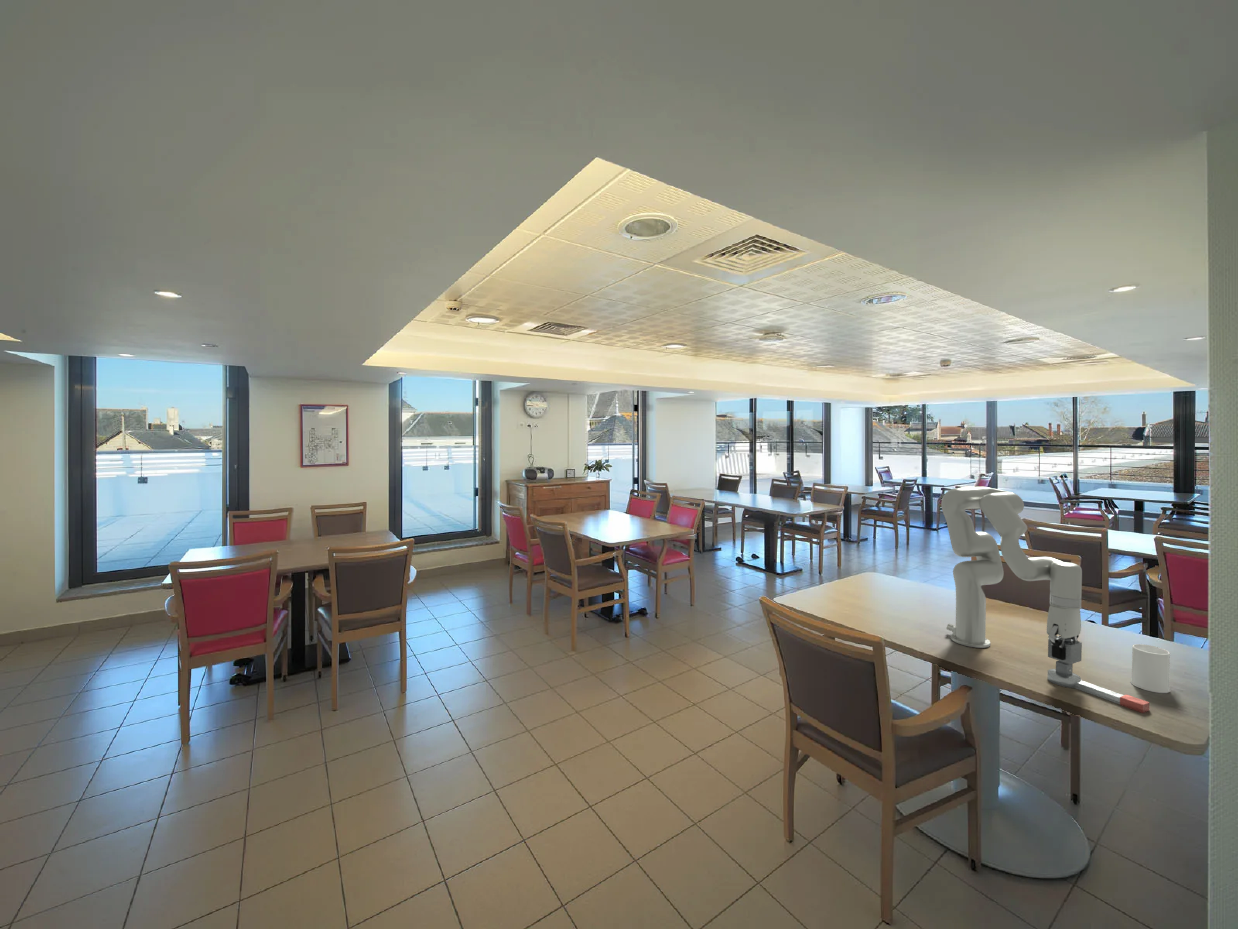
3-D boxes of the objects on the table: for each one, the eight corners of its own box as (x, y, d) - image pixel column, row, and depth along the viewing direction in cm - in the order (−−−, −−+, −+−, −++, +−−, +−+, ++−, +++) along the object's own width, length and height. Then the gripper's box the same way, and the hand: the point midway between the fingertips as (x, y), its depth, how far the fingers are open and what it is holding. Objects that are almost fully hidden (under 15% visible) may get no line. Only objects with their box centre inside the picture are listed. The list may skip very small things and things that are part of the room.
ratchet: (1041, 679, 162) (1042, 659, 162) (1056, 674, 166) (1056, 655, 165) (1138, 715, 141) (1139, 692, 140) (1153, 708, 144) (1153, 686, 144)
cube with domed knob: (1047, 657, 162) (1048, 635, 161) (1058, 653, 164) (1059, 632, 164) (1070, 664, 156) (1070, 642, 156) (1081, 660, 158) (1081, 639, 158)
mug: (1154, 678, 162) (1155, 642, 161) (1187, 691, 153) (1188, 653, 153) (1122, 681, 160) (1123, 644, 160) (1153, 694, 152) (1154, 655, 151)
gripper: (1066, 594, 166) (1065, 647, 167) (1035, 601, 159) (1034, 657, 160) (1095, 601, 159) (1094, 656, 160) (1063, 608, 152) (1062, 666, 153)
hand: (1064, 656), depth 160 cm, fingers closed on cube with domed knob, 6 cm apart
